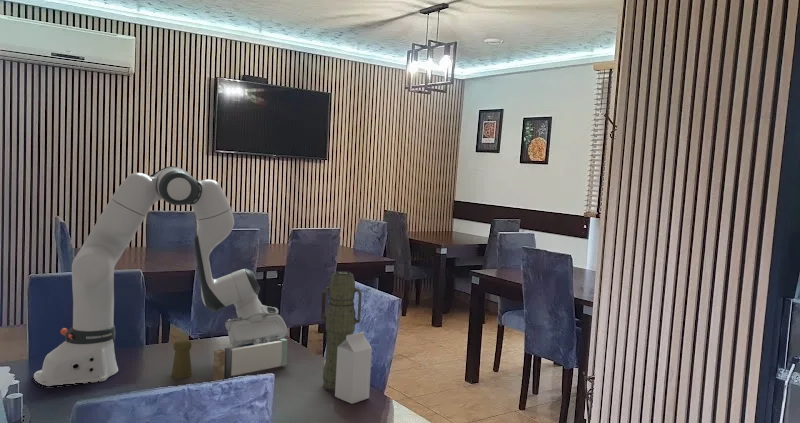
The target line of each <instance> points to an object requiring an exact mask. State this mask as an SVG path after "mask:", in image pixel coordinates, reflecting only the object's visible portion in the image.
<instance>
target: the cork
mask: <svg viewBox="0 0 800 423" xmlns="http://www.w3.org/2000/svg"><path fill="white" fill-rule="evenodd" d="M192 345H193V344H192V342H191V340H190V339H186V338H180V339H176V340H175V341H174V342H173V350H174V351H175V352H174V357H173V364H172V370H171V373H170V374H171V375H170V377H172V378H174V379H187V378H190V377H192V375H193V371H192V370H193V369H192V363H191V355H190V354H191V353H190V350H191V349H192Z"/></svg>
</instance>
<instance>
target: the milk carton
mask: <svg viewBox="0 0 800 423" xmlns="http://www.w3.org/2000/svg"><path fill="white" fill-rule="evenodd" d="M372 352H373V348H372V346H371V344H370V343H369V341H368V340H367V338H366V336H365V331H361V332H357V333H356V332H355V333H353V334H352V335H347V336H346V340H345V341H344V342H342V343H341V344H340V345H339V346H338V347H337V366H336V385H335V391H334V397H335V398H337V399H339V400H342V401H344V402H346V403H349V404H351V405H353V404H355V403H358V402H361V401H365V400H367V399H369V398H370V388H371V370H372V369H371V367H372Z"/></svg>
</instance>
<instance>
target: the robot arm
mask: <svg viewBox="0 0 800 423" xmlns="http://www.w3.org/2000/svg"><path fill="white" fill-rule="evenodd" d="M160 200H163V201H164V202H166V203H168V204H170V205H173V206H186V205H189V206H191V208H192V209H193V212H194V215H195V217H196V219H197V224H198V231H197V233H196V235H195V236H194V238H193V247H194V252H195V253H194V254H195V260H196V264H197V265H196V266H197V271H198V277H199V280H200V296H201V300H202V303H203V305H204V307H206V309H208V310H210V311H215V312H218V311H220V310H223V309H225V308H226V307H228V306H231V305H234V307H235V312H236V316H237V317H236V318H229V319H227V320H226V321H225V324H224V325H225V328H226V331H227V335H228V339H229V343H230V345H231V346H233V347H236V346H243V344H249V343H253V344H254V345H257V344H261V342H263V343H268V342H271V341H273V340H280V339H285V336H286V335H287V334H288V327H287V324H286V322H285V321H284V319H283V317H282V316H281V315H280V314H279V309H278V308H277V307H274V306H273V307H272V306H267V305H265V304H262V302H261V300H260V299H259V296H258V295H259V293H260V290H261V286H260V284H259V282H258V281H257V276H256V273H255V272H254V271H252V270H250V269H248V268H243V269H242V268H241V269H240V270H235V271H233V272H231V273H229V274H226V275H223V276H221V277H218V278H213V274H212V269H211V263H210V255H211V253H212V251H213V250H214V249H215V248H216V247H217V246H218V245H219V244H221V243H222V242H223V241H224V240H226V239H227V238H228V236H229V235H230V234H231V233H232V231H233V229H234V226H235V218H234V217H235V216H234V214H233V210H232V206H231V205H230V202H229V200H228V198H227V195H226V193H225V192H224V190H223V188H222V186H221V184H219V182H218V181H216V180H214V179H209V178H207V179H202V180H197V179H196V178H194V177H193V176H192V174H190V173H189V172H188V171H187V170H185V169H183V168H181V167H178V166H173V165H171V166H170V165H169V166H166V167H163V168H161V169H159V170H157V171H156V172H154V173H153V174H151V175H148V174H146V173H142V172H133V173H131V174H129V175H128V176H127V177H126V178H125V179H124V181H122V183H121V184H120V185H119V186H118V187H117V189H116V191H115V192H114V193H113V194H112V196H111V198H110V200H109V201H108V203H107V204H106V205H105V207H104V210H103V211H102V212H101V215H100V216H99V218H98V219H97V220H96V223H95V224H94V226H93V228H92V230H91V231H90V232H89V235H88V236H87V237H86V239H85V241H84V242H83V244H82V246H81V247H80V249H79V251H78V252H77V254H76V255H75V257H74V259H73V260H72V264H71V286H72V302H73V304H72V306H73V307H72V327H70V328H69V329H68V328H66V327H63V328H61V330H60V334H61V335H62V336H64V337H65V341H63V342H62V343H61V344H59V345H58V346H57V347H55V348H54V349H53V350H51V351H50V352H49V353H47V354H46V355H45V357H44V360H43V363H42V368H41V369H40V370H37V371H36V372H35V373H33V378H34V379H35V381H37V382H38V383H40V384H42V385H46V386H52V385H63V384H74V385H76V384H75V383H83V384H89V383H88V382H91V383H99V382H105V381H107V379H109V377H112V376H113V375H116V374H117V373H118V372H119V367H118V364H117V360H116V354H115V342H116V326H115V323H114V318H115V316H114V315H115V314H114V313H115V312H114V311H115V289H114V288H115V287H114V286H115V283H114V282H115V280H114V279H115V268H116V265H117V263H118V262H119V260H120V259H121V257H122V256H123V253H124V252H125V250H126V249H127V247H128V246H129V244H130V243H131V242H132V240H133V239H134V236H135V235H136V233H137V231H138V230H139V228H140V226H141V225H142V223H143V221H144V220H145V218H146V216H147V215H148V213H149V211H150V209H151V207H153V205H154V204H155V203H156V202H158V201H160ZM259 342H260V343H259ZM34 379H33V380H34ZM35 381H34V382H35ZM98 381H99V382H98Z"/></svg>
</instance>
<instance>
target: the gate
mask: <svg viewBox="0 0 800 423" xmlns="http://www.w3.org/2000/svg"><path fill="white" fill-rule="evenodd" d="M224 351H225V367H224V378H230V377H231V376H233V377H234V376H237V375H243V374H247V373H253V372H257V371H263V370H268V369H272V368H278V367H284V366H287V362H288V361H287V359H288V358H287V357H288V339H286V338H279V340H275V341H270V342H268V343H264V342H263V343H260V344H257V345H251V346H239V347H234V348H232V347H224Z"/></svg>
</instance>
